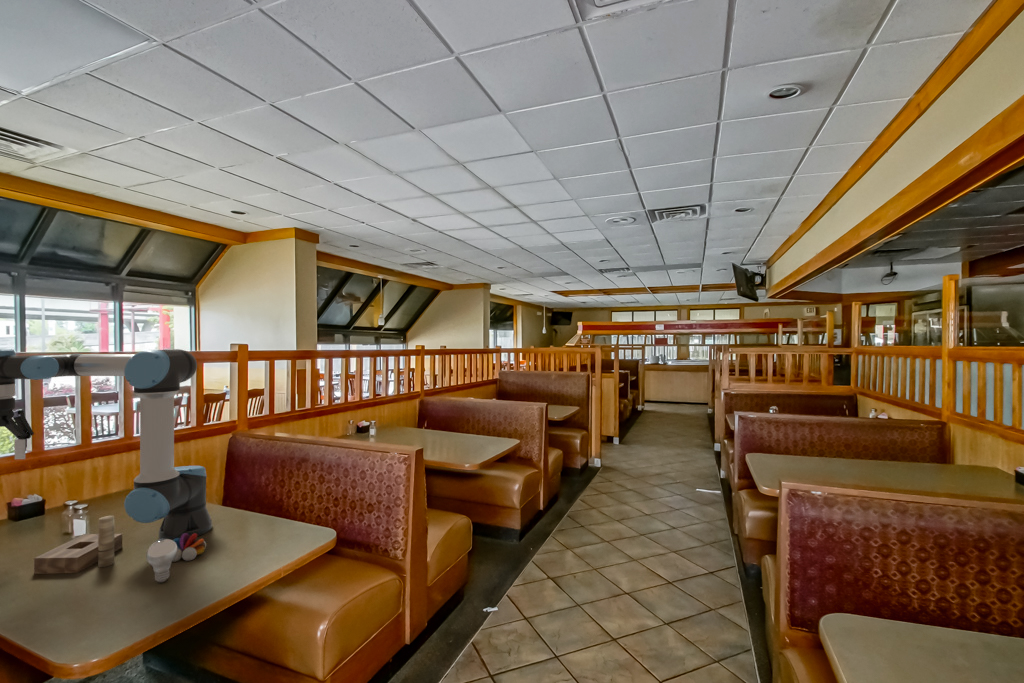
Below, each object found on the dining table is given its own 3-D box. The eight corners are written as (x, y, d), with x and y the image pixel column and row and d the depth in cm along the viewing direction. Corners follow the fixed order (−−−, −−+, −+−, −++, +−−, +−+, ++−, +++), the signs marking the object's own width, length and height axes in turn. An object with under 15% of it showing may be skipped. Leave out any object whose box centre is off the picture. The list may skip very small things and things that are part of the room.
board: (122, 547, 147) (122, 533, 147) (77, 572, 131) (77, 557, 131) (83, 548, 146) (83, 534, 146) (34, 573, 130) (34, 558, 130)
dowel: (117, 560, 138) (117, 515, 138) (107, 567, 134) (107, 520, 134) (105, 561, 138) (105, 515, 138) (94, 567, 134) (94, 520, 134)
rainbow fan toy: (196, 562, 138) (196, 538, 138) (161, 564, 136) (161, 540, 136) (210, 549, 146) (210, 527, 146) (177, 551, 145) (177, 529, 145)
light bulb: (152, 591, 122) (152, 547, 122) (141, 584, 125) (141, 541, 125) (182, 579, 128) (182, 537, 127) (171, 573, 131) (171, 532, 131)
